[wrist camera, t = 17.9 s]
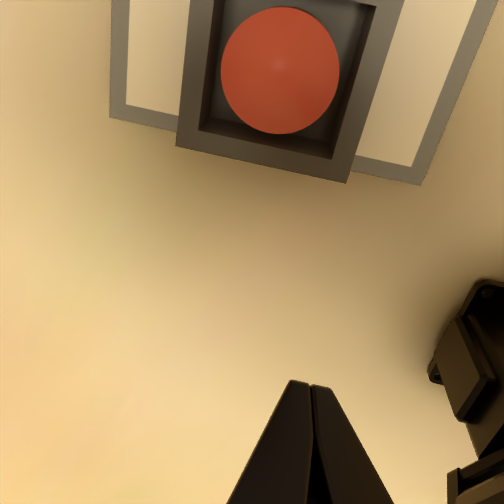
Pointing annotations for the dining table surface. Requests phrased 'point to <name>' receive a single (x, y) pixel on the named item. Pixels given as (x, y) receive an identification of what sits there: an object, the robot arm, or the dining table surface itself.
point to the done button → (280, 70)
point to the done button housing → (319, 132)
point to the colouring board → (385, 98)
